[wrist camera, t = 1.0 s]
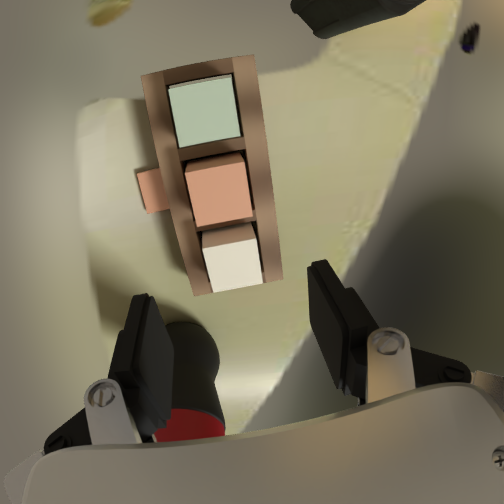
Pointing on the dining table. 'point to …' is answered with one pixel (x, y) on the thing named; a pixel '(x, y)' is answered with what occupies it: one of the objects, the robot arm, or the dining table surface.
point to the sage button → (204, 112)
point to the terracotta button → (218, 189)
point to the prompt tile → (153, 190)
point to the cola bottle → (193, 386)
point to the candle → (348, 13)
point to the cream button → (231, 256)
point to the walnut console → (174, 155)
